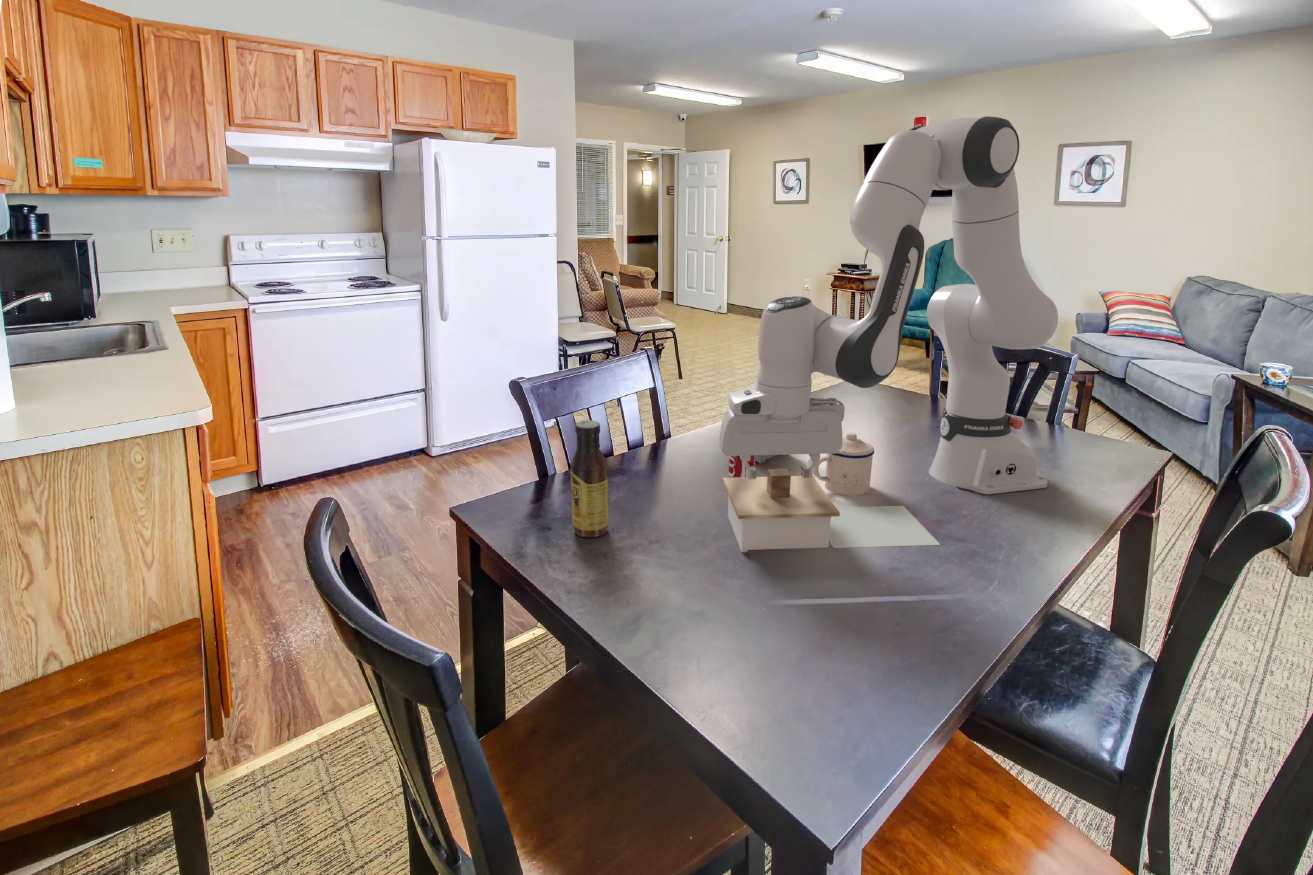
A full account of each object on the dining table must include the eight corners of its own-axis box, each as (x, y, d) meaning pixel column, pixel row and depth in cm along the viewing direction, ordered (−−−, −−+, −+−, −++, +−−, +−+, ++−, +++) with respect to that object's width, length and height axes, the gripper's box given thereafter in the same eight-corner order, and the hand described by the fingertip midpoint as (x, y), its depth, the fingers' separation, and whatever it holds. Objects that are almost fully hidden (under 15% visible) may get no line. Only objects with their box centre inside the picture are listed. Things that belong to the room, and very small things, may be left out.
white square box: (805, 513, 131) (807, 480, 129) (828, 549, 117) (831, 513, 115) (727, 515, 130) (728, 482, 128) (741, 552, 117) (742, 515, 115)
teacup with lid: (856, 479, 147) (861, 425, 144) (879, 495, 139) (885, 439, 135) (802, 484, 145) (806, 429, 141) (822, 501, 136) (827, 444, 133)
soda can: (752, 488, 143) (755, 431, 139) (726, 486, 144) (728, 429, 140) (754, 479, 148) (757, 423, 144) (729, 477, 148) (731, 422, 145)
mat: (902, 508, 133) (903, 505, 133) (940, 547, 118) (940, 544, 118) (807, 510, 132) (808, 508, 132) (833, 550, 117) (833, 547, 117)
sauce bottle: (573, 524, 127) (568, 417, 121) (608, 523, 127) (605, 416, 121) (572, 541, 121) (567, 429, 114) (609, 539, 121) (606, 428, 115)
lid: (811, 483, 130) (813, 454, 129) (839, 521, 115) (841, 489, 113) (722, 485, 129) (723, 456, 128) (738, 524, 114) (739, 492, 112)
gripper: (839, 392, 120) (833, 469, 124) (719, 394, 119) (716, 472, 123) (851, 402, 114) (844, 483, 118) (724, 405, 113) (722, 486, 117)
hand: (778, 477), depth 121 cm, fingers open, 8 cm apart
